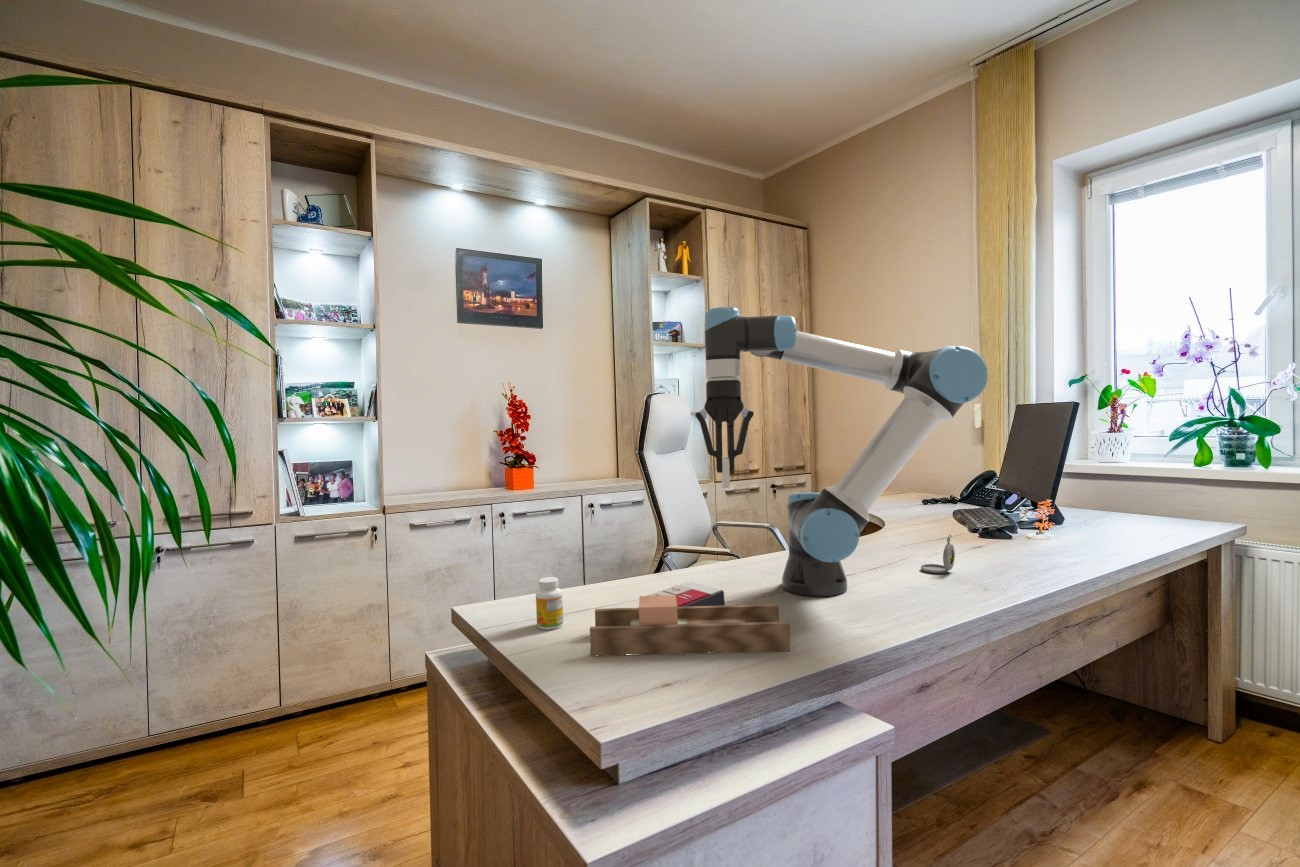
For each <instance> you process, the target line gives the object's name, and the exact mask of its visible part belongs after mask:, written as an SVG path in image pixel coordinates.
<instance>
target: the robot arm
mask: <svg viewBox="0 0 1300 867" xmlns="http://www.w3.org/2000/svg"><path fill="white" fill-rule="evenodd" d="M704 347H705V352H704V353H705V378H706V379H707V380H708V381H706V383H705V390H706V392H705V393H706V400H705V403H704V407H703V408H702V409H701V410H699V411H698V412H695V414H694V417H695V418H696V419H697V421H698V422H699V426H700V429H701V434H702V435H703V436H702V437H703V439H704V444H705V448H706V450H707V451H706V452H707V453H708V455H709V456H712V457H715V466H716V469H715V470H716V472H717V473H718V474H719V473H721V487H722V489H730V488H731V481H730V479H731V478H730V473H734V472H735V458H736V457H738V456H740V455H742V454H743V453H744V448H745V447H744V446H745V444H746V438H747V434H748V429H749V425H750V421H751V420H752V418H753V417H754V415H755V413H754V411H753V410H750V409H748V408H746V407H745V405H744V403H743V400H742V388H741V386H742V384H741V383H742V382H741V381H740V380H739V378H741V377H742V376H741V375H742V374H741V372H742V371H741V352H742V353H743V352H745V353H746V352H749V353H750V354H751V355H753V356H754V357H759V358H763V357H764V358H770V359H775V360H779V361H784V362H788V363H792V364H797V365H801V366H804V367H809V368H813V369H818V370H822V371H826V372H831V373H836V374H838V375H839V374H840V375H844V376H847V377H848V376H849V377H851V378H852V377H853V378H856V379H861V380H866V381H869V382H873V383H879V384H883V385H884V387H885V388H886V389H887V390H888V391H892V392H897V393H900V394H903V395H904V396H903V397H904V398H903V399H902V401H901V402H900V403H899V405H898V406H897V407H896V408H895V409H894V411H893V412H892V413H891V415H890V416H889V417H888V418H887V419H886V421H885V422H884V423H883V425H882V426H881V427H880V428H879V430H878V431H877V432H876V433H875V435H874V436H873V437H872V439H871V440H870V441H869V442H868V444H867V445H866V446H865V447H864V449H862V451H861V452H860V454H859V455H858V456H857V458H856V459H854V461H853V463H852V464H851V465H850V466H849V467H848V469H847V470H846V471H845V473H843V475H842V477H840V479H839V480H838V481H837V483H835V485H833V486H832V485H831V486H824V487H823V489H822V490H821V491H820V492H793V493H790V494H789V496H788V498H787V499H788V500H787V505H786V506H787V511H788V512H787V516H788V517H787V518H788V520H787V521H788V523H787V524H788V557H787V561H786V563H785V567H784V570H783V572H782V578H781V586H782V589H783V590H785V591H787V592H788V593H790V594H791V593H792V594H795V595H800V596H806V597H833V596H838V595H841V594H844V593H845V592H847V590H848V579H847V576H846V573H845V570H844V568H843V565H842V561H843V560H845V559H847V558H849V557H851V555H852V554H853V553H854V552H855V551H856V549H857V547H858V545H859V541H860V533H861V532H862V531H863V530H864V528H865V527H866V526H867V524H868V523H869V522H870V516H869V515H870V514H869V510H870V509H871V508H872V506H873V505H874V504H875V502H876V501H877V500H878V499H879V498H880V496H881V495H882V494H883V493H884V492H885V490H886V489H887V488H888V486H889V485H890V484H891V483H892V481H893V480H894V479H895V478H896V477H897V475H898V474H899V473H900V471H901V470H902V469H903V468H904V466H906V464H907V463H908V462H909V461H910V459H911V458H912V457H913V455H914V454H915V453H916V452H917V450H918V449H919V448H920V447H921V446H922V444H923V443H924V441H925V440H926V439H927V438H928V436H929V435H930V434H931V433H932V432H933V430H935V428H936V427H937V425H938V424H939V423H941V422H944V421H945V422H946V421H950V420H952V419H953V418H954V416H955V415H956V414H957V413H958V412H959V410H960V409H961V408H962V407H963V405H964V404H966V403H969V402H972V401H973V400H975V399H976V398H978V397H979V396H980V395H981V394H982V392H983V391H984V390H985V389H986V386H987V383H988V377H989V373H988V368H987V364H986V361H985V360H984V359H983V357H982V356H981V355H980V354H979V353H977V351H975V350H973V349H972V348H969V347H968V346H967V347H966V346H961V345H960V346H959V345H948V346H945V347H942V348H939V349H935V350H928V351H910V350H909V351H908V350H904V349H900V348H899V349H897V350H895V351H892V352H891V351H887V350H884V349H880V348H879V349H878V348H875V347H870V346H866V345H862V344H857V343H852V342H848V341H843V340H840V339H835V338H830V337H826V336H821V335H818V334H812V333H810V332H804V331H800V330H797V322H796V318H795V317H794V316H792V315H781V314H778V315H767V316H766V315H763V316H748V317H747V316H741V314H740V309H738V308H737V307H734V306H733V307H732V306H731V307H729V306H721V307H714V308H713V307H712V308H709V309H708V310H707V311H706V312H705V314H704ZM707 414H708V416H710V418H711V419H712V420H713V421H714V430H715V431H714V432H715V435H714V436H715V450H714V447H713V443H712V439H711V437H710V432H709V429H708V428H709V427H708V424H707V421H706V419H707ZM740 414H741V418H742V420H741V425H740V430H739V434H738V438H737V443H736V448H735V429H734V428H735V427H734V426H735V421H736V419H737V418H738V416H739V415H740ZM723 422H725V423H726V443H727V444H726V446H727V456H726V457H724V456H723Z"/></svg>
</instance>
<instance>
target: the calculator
mask: <svg viewBox="0 0 1300 867" xmlns="http://www.w3.org/2000/svg"><path fill="white" fill-rule="evenodd" d="M665 595H676V601H677V607H684V606H721V605H726V604H725V592H724V590H722V589H720V588H717V587H714V586H710V585H705V584H701V583H698V582H694V581H691V580H690V581H689V580H688V581H686V582H683V583H681V584H676V585H673V586H670V587H666V588H665V589H662V590H659V591H656V592H653V593H651V594H648V595H646V596H665Z"/></svg>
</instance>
